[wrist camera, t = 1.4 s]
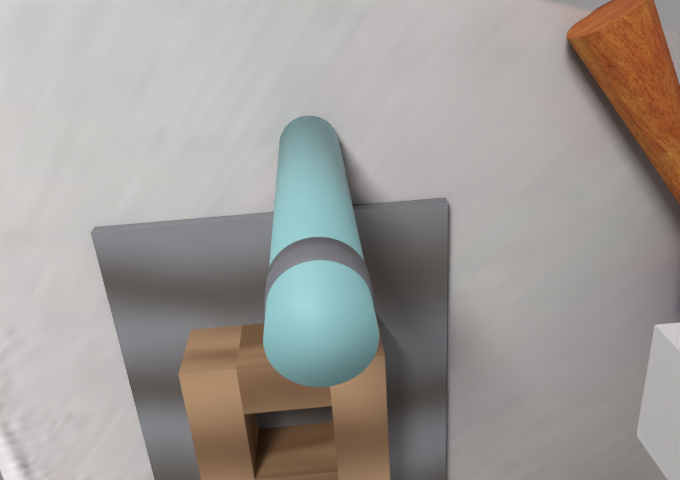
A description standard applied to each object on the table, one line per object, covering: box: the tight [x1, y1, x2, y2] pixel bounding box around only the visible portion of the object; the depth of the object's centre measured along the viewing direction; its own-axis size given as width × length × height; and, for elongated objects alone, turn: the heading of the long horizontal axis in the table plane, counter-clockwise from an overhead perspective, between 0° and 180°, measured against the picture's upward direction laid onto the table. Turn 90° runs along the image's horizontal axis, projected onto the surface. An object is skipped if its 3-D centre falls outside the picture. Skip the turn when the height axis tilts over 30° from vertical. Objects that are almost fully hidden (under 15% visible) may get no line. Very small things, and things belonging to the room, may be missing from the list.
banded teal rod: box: [263, 116, 379, 387], centre depth 21 cm, size 3×3×15 cm
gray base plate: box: [91, 198, 448, 480], centre depth 31 cm, size 20×16×4 cm
